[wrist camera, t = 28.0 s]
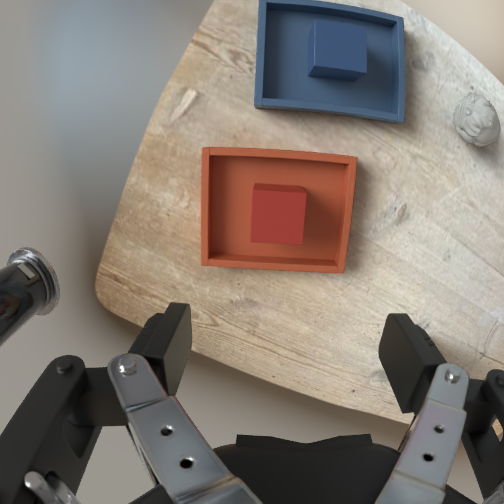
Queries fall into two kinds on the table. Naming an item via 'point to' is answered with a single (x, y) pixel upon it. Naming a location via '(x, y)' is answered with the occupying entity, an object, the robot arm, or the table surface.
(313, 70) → the blue block
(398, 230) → the table surface
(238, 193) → the orange tray
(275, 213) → the red block
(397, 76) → the blue tray
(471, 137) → the frog figurine
